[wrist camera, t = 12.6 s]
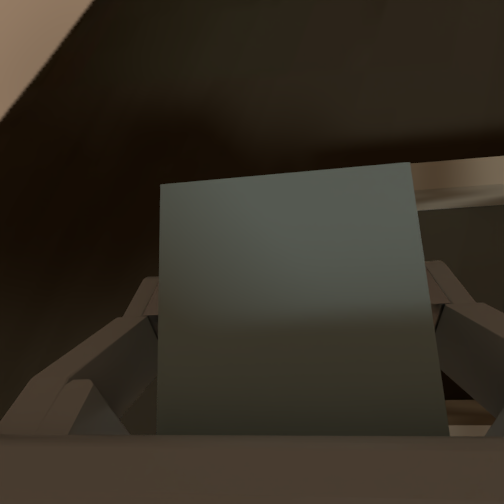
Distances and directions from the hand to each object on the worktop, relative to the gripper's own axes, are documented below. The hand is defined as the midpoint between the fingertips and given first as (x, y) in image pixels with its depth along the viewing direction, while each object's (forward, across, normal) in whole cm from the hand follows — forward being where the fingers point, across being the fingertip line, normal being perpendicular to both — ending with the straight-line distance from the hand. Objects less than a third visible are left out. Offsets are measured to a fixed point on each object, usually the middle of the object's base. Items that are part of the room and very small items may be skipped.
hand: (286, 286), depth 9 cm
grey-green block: (+3, 0, +4) cm, 5 cm away
